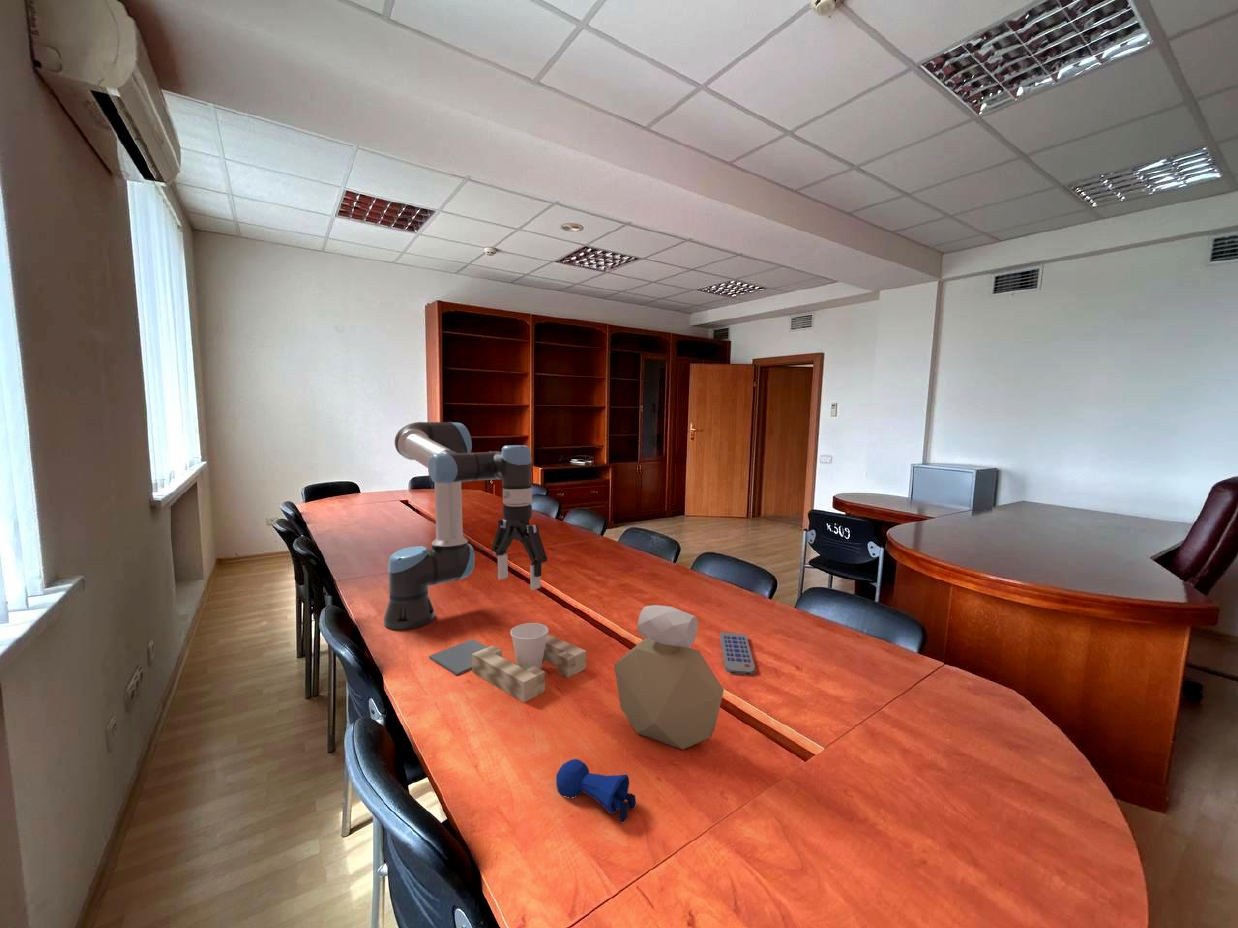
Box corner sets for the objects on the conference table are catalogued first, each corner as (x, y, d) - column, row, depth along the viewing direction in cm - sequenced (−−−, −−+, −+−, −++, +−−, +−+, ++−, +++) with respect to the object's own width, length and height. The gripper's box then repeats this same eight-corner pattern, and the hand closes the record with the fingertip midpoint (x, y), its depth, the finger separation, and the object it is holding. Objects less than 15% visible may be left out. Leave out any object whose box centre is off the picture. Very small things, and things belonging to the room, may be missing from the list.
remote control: (746, 640, 151) (746, 633, 150) (755, 677, 128) (756, 669, 128) (719, 638, 152) (720, 631, 152) (724, 674, 130) (725, 666, 129)
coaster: (428, 657, 135) (428, 655, 135) (472, 640, 146) (472, 638, 146) (457, 675, 126) (457, 673, 126) (501, 655, 137) (501, 653, 137)
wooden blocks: (472, 672, 128) (472, 653, 127) (533, 644, 144) (533, 628, 144) (524, 702, 115) (524, 682, 114) (585, 668, 131) (585, 650, 130)
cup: (540, 682, 123) (540, 640, 122) (504, 677, 125) (503, 636, 124) (553, 663, 133) (553, 624, 132) (519, 659, 135) (519, 620, 134)
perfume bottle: (710, 771, 93) (715, 630, 91) (602, 730, 105) (604, 604, 102) (728, 735, 104) (733, 608, 101) (628, 702, 115) (631, 587, 113)
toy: (638, 805, 86) (570, 769, 93) (641, 772, 85) (571, 739, 93) (619, 833, 80) (547, 792, 87) (621, 798, 79) (548, 760, 87)
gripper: (477, 501, 133) (479, 577, 135) (537, 510, 117) (539, 597, 119) (500, 498, 139) (501, 571, 141) (560, 506, 123) (561, 589, 125)
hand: (518, 583), depth 130 cm, fingers open, 13 cm apart
